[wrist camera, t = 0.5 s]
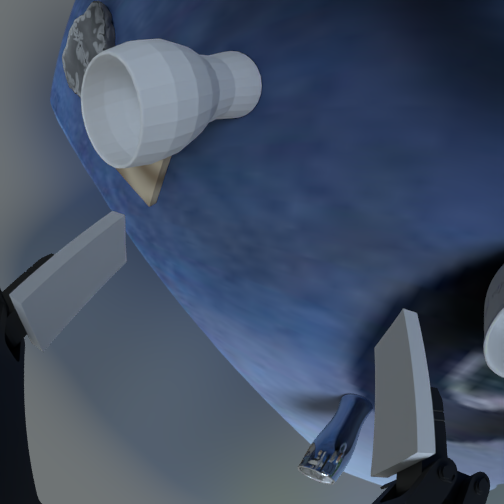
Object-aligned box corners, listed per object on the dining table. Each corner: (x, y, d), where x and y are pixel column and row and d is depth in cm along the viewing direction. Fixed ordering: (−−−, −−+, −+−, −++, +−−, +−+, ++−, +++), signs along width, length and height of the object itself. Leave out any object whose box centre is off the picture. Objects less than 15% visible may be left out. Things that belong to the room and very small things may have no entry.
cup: (215, 24, 24) (87, 28, 14) (293, 68, 23) (165, 76, 13) (185, 100, 32) (74, 133, 22) (247, 148, 31) (135, 201, 21)
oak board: (130, 94, 37) (122, 96, 36) (178, 137, 36) (169, 140, 35) (117, 159, 48) (110, 162, 47) (156, 202, 47) (149, 206, 46)
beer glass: (332, 398, 47) (289, 466, 37) (353, 387, 42) (308, 465, 32) (360, 417, 45) (322, 485, 35) (383, 407, 40) (344, 485, 30)
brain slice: (93, 113, 46) (80, 118, 44) (71, 50, 41) (58, 53, 39) (138, 54, 33) (120, 57, 31) (109, -15, 27) (93, -14, 25)
